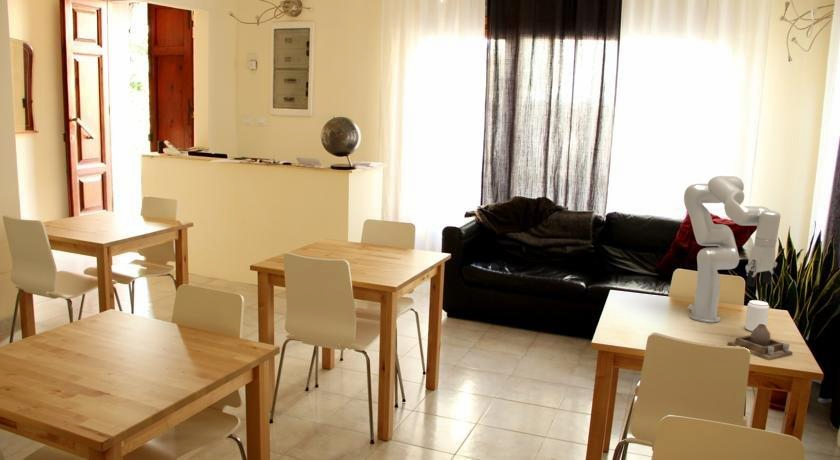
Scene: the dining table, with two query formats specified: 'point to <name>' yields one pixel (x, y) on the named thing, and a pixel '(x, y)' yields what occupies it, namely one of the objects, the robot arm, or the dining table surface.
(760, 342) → the vase
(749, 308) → the beverage can
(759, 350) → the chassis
